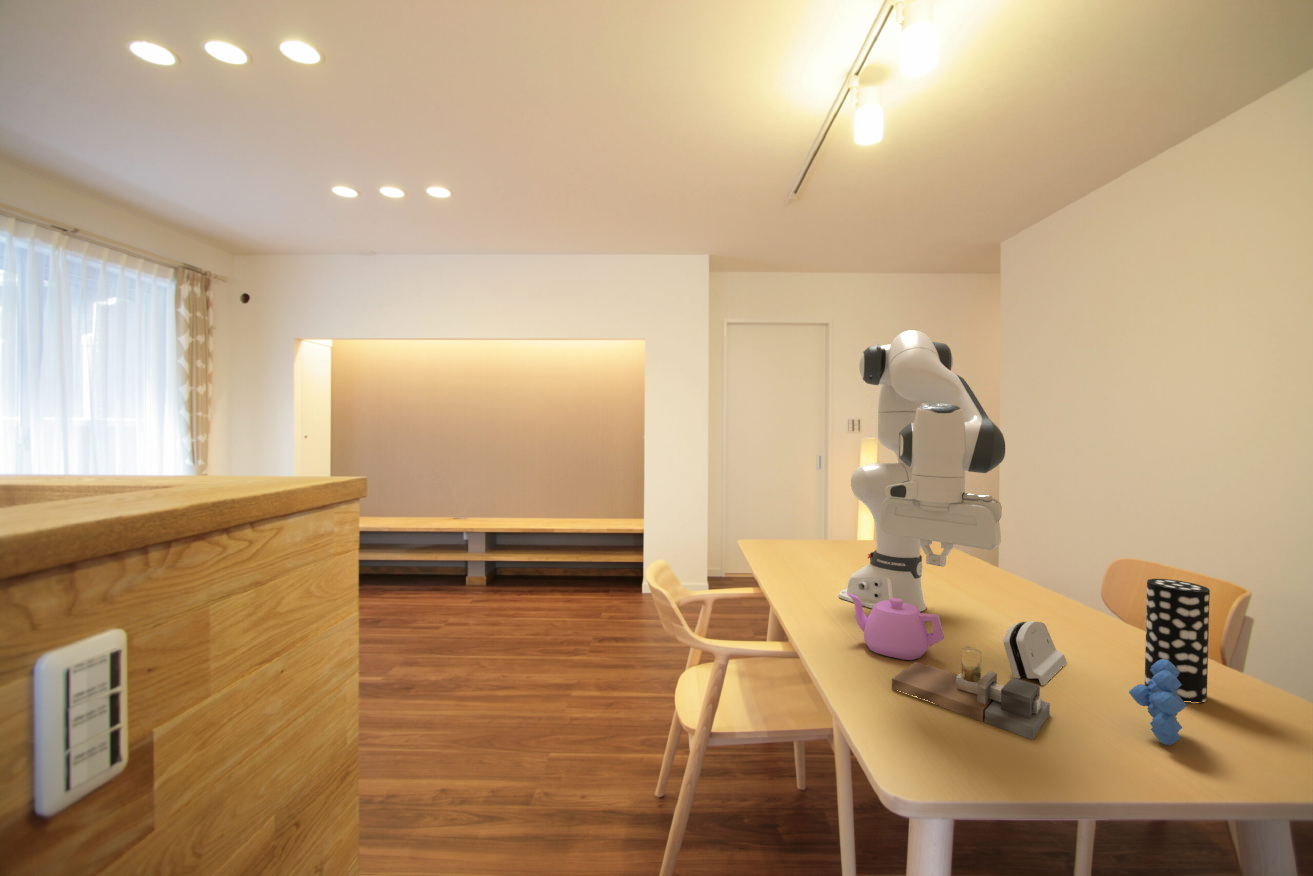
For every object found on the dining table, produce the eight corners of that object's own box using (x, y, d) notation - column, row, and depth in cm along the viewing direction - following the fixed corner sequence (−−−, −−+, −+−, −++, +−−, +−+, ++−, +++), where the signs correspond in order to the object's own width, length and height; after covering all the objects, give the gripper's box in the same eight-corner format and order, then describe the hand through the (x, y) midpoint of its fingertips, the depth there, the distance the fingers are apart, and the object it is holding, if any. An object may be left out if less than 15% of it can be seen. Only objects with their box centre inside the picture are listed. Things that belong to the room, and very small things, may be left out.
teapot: (854, 629, 131) (854, 584, 130) (947, 649, 119) (948, 599, 119) (837, 648, 120) (838, 598, 119) (938, 672, 108) (939, 616, 108)
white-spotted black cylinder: (1134, 686, 102) (1137, 581, 102) (1159, 678, 106) (1161, 576, 105) (1192, 707, 95) (1195, 593, 94) (1216, 698, 98) (1219, 588, 98)
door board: (891, 689, 100) (892, 660, 100) (915, 671, 108) (916, 644, 108) (1033, 739, 84) (1033, 705, 84) (1049, 714, 92) (1050, 683, 92)
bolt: (955, 688, 96) (956, 649, 96) (961, 683, 98) (961, 644, 98) (1036, 714, 88) (1037, 671, 87) (1040, 708, 90) (1041, 666, 89)
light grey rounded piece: (1043, 687, 102) (1023, 632, 104) (1016, 686, 105) (997, 633, 108) (1067, 662, 113) (1049, 613, 115) (1042, 663, 116) (1024, 615, 119)
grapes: (1127, 713, 93) (1128, 643, 92) (1182, 728, 88) (1183, 654, 88) (1128, 743, 84) (1130, 666, 83) (1189, 761, 79) (1192, 680, 79)
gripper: (1007, 495, 95) (1005, 573, 95) (890, 484, 110) (889, 552, 110) (996, 498, 91) (994, 580, 91) (876, 487, 106) (875, 557, 106)
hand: (935, 564), depth 101 cm, fingers closed
